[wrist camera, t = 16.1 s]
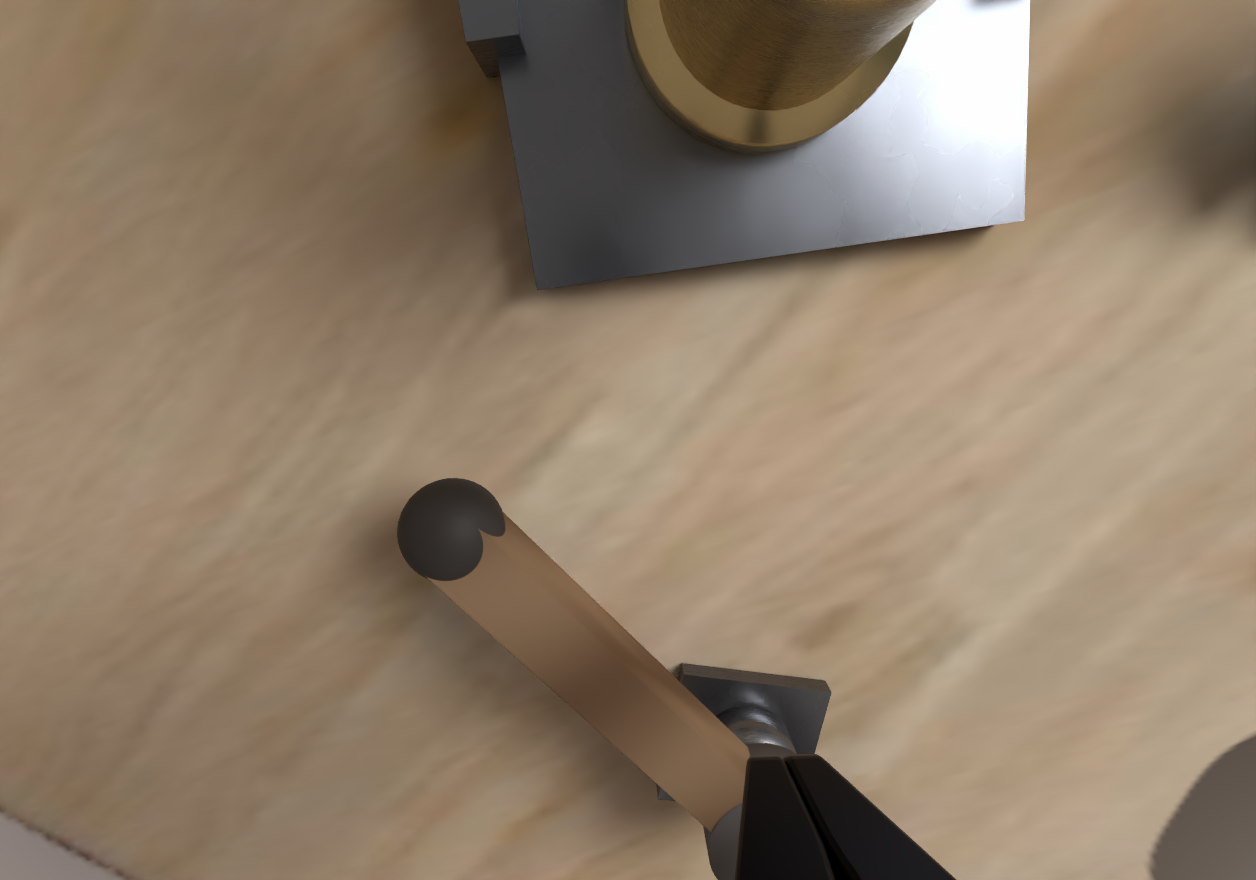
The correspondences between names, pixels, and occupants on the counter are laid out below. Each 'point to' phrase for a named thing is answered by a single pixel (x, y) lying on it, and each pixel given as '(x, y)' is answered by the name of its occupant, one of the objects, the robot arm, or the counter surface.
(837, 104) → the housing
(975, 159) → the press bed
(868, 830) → the robot arm
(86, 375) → the counter surface
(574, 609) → the lever
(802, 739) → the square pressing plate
